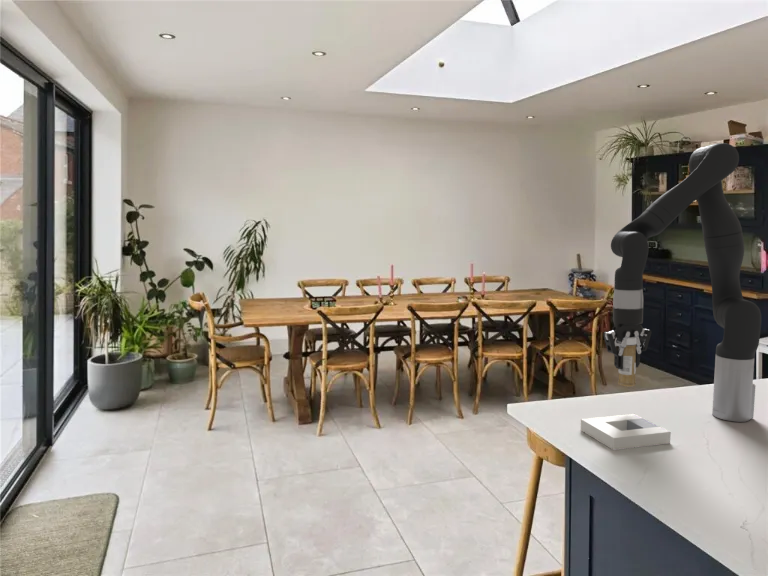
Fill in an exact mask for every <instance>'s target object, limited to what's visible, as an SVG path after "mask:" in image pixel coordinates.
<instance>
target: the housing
mask: <svg viewBox="0 0 768 576" xmlns="http://www.w3.org/2000/svg"><path fill="white" fill-rule="evenodd" d="M580 431H581V432H583V433H584V432H585V433H584V434H586V435H587V436H590V437H592V439H595V440H597V441H598V442H600V443H601V444H603V445H604V446H606V447H608V448H609V449H611V450H613V451H617V450H623V449H624V450H625V448H627V449H633V448H634V447H635V448H642V447H653V446H659V445H667V444H671V434H672V433H671V432H672V431H671V430H669V429H666V428H664V427H663V426H661V425H657V424H656V423H653V422H651V421H649V420H647V419H646V418H644V417H641V416H639V415H637V414H635V413H628V414H619V415H607V416H599V417H597V416H596V417H589V418H581V419H580ZM635 448H634V449H635Z"/></svg>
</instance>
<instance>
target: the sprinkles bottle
mask: <svg viewBox="0 0 768 576" xmlns="http://www.w3.org/2000/svg"><path fill="white" fill-rule="evenodd" d="M618 342H619V341H618ZM621 343H622V342H619V344H621ZM622 356H623V369H618V368H617V369H618V380H617V384H618V385H619V386H622V387H628V388H629V387H635V386H636V372H637V371H636V370H637V367H636V338H635V337H629V338H628V339H627V344H626V347H625V348H624V350H623V354H622Z"/></svg>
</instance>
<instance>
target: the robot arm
mask: <svg viewBox="0 0 768 576" xmlns="http://www.w3.org/2000/svg"><path fill="white" fill-rule="evenodd" d="M739 161H740V155H739V152H738V150H737V148H736V147H735V146H733V145H732V144H730V143H726V142H719V143H713V144H710V145H706V146H705V145H704V146H702V147H699V148H696V149H695V150H694V151H693V152H692V153H691V155H690V157H689V160H688V170H689V171H688V172H689V175H688V176H687V177H686V178H684V179H682V181H680V182H679V183H678V184H677V185H674V186H673V187H672V188H671V189H669V190H667V191H666V192H665V193H663V194H662V195H661V196H659V197H658V198H657V199H656V200H655V201H653V202H652V203H651V204H649V206H648V207H647V208H646V209H645V210H644V211H643V212H642V213H641V214H640V215H639V216H638V217H637V218H635V219H634V220H632V221H631V222H629V223H628V224H626V225H625V226H624V227H622V228H621V229H619V230H618V231H617V232H616V233H615V234H614V236H613V237H612V239H611V240H610V250H611V251H612V253H613V254H614V255H615V256H617V257H620V258H621V264H620V266H619V267H618V268H616V269H615V272H614V284H613V285H614V287H613V289H614V290H613V296H612V297H613V299H612V303H613V305H612V322H613V327H612V330H610V331H604V332H603V339H604V343H605V347H606V351H607V352H608V353H610V354H613V355H614V358H613V360H614V362H613V363H614V364H613V365H614V367H615V368H616V369H623V356H622V354H623V350H624V348H625V347H626V344H627V339H628V338H629V337H635V338H636V368H639V366H640V364H641V362H640V361H641V354H642V352H646V351H648V347H649V342H650V340H651V336H652V329H647V328H643V325H642V324H643V322H644V292H643V291H644V290H643V285H644V284H643V283H644V278H643V275H644V271H645V269H646V265H647V264H646V263H647V260H648V255H649V247H650V245H649V241H648V239H649V238H652V237H656V236H658V235H660V234H661V233H662V232H664V230H666V228H668V226H670V224H672V223H673V221H674V220H676V218H677V217H679V216H680V215H681V214H682V213H683V212H684V211H685V210H686V209H687V208H688V207H689V206H691V205H692V204H693V203H694V202H695V201H697V205H698V212H699V216H700V223H701V228H702V235H703V236H702V237H703V242H704V250H705V254H706V258H707V264H708V265H707V266H708V269H709V270H708V271H709V276H710V281H711V283H710V284H711V296H712V298H711V299H712V300H711V301H712V314H713V319H714V321H715V322H716V324H717V325H718V326H719V327H721V328H723V337H722V338H723V339H722V341H721V342H720V343H717V345H716V346H715V347H716V348H715V359H714V375H713V376H714V379H713V393H712V413H711V414H712V416H713V417H715V418H718V419H720V420H724V421H729V422H739V423H743V422H750V420H751V419H754V415H755V414H754V412H755V399H756V397H755V396H756V385H755V383H754V370H755V368H754V366H755V356H756V351H757V350H758V348H759V344H760V337H761V328H762V313H761V309H760V307H759V306H758V305H757V304H756V303H754V302H752V301H750V300H747V299H744V296H743V292H742V288H741V281H740V274H741V270H742V269H741V268H742V265H743V264H742V263H743V261H744V256H745V242H744V240H745V239H744V235H743V234H744V233H743V228H742V226H741V222H740V220H739V218H738V216H737V215H736V213H735V211H734V210H733V208H732V207H731V206H730V204H729V202H728V201H727V199H726V196H725V193H724V189H723V183H722V182H723V180H725V178H728V176H730V175H732V173H734V171H736V169H737V167H738V165H739ZM618 341H619V342H622V343H621V344H619V342H618Z"/></svg>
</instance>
